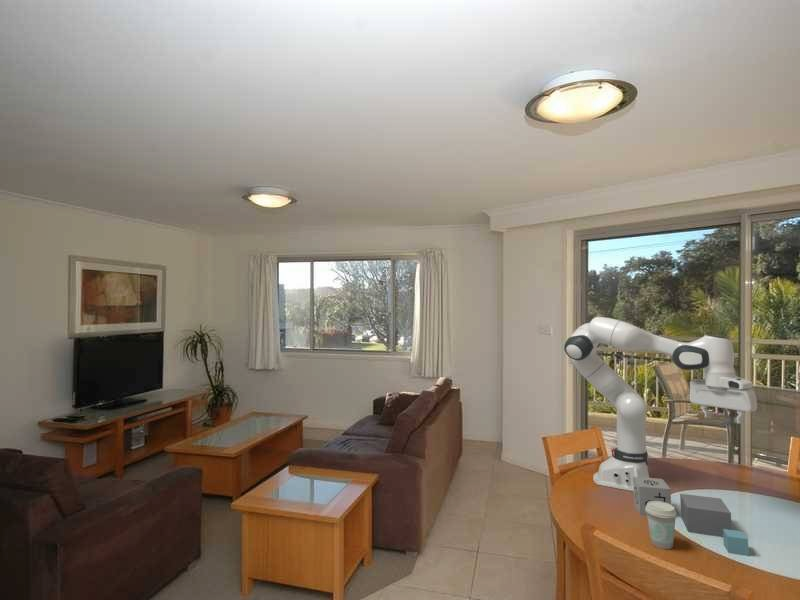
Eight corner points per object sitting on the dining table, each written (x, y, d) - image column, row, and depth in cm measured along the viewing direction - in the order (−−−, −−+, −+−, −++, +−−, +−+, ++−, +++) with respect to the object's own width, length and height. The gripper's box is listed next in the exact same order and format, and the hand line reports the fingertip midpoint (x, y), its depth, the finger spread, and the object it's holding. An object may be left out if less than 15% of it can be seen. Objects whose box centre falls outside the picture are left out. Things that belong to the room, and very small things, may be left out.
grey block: (688, 532, 146) (686, 507, 146) (681, 516, 157) (680, 493, 158) (732, 538, 142) (730, 512, 142) (721, 522, 153) (720, 498, 153)
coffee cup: (640, 538, 143) (639, 500, 143) (665, 537, 143) (664, 499, 144) (658, 552, 134) (656, 512, 135) (684, 550, 135) (683, 510, 135)
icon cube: (671, 517, 157) (670, 489, 157) (640, 514, 159) (639, 486, 160) (663, 505, 166) (662, 478, 166) (634, 503, 169) (633, 476, 169)
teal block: (728, 553, 133) (727, 536, 133) (723, 545, 138) (722, 528, 138) (748, 556, 131) (747, 539, 131) (743, 548, 136) (742, 531, 136)
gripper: (684, 378, 164) (686, 416, 163) (748, 385, 145) (750, 427, 145) (694, 377, 167) (697, 414, 166) (758, 383, 148) (761, 425, 148)
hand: (722, 420), depth 155 cm, fingers open, 8 cm apart
